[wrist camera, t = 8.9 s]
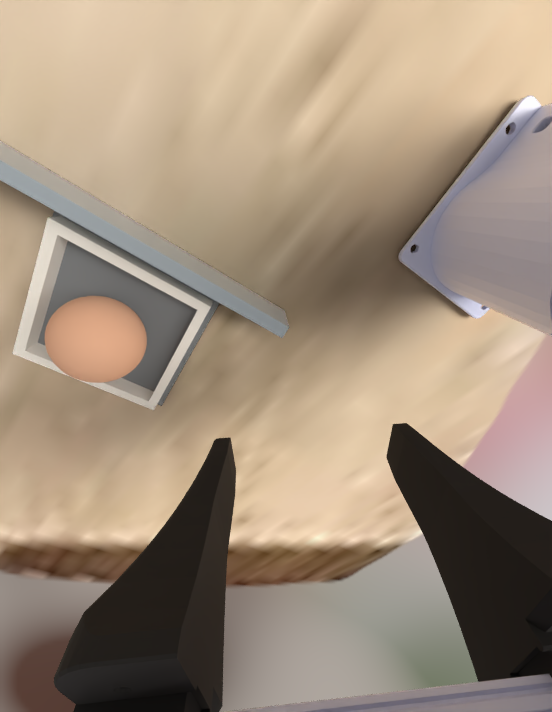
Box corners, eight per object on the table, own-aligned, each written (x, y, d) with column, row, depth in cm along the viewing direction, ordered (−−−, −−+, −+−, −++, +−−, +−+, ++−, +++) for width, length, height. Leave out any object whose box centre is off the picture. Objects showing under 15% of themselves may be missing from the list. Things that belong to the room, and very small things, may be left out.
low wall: (-22, 127, 14) (-86, 110, 11) (284, 310, 19) (289, 327, 17) (-24, 144, 14) (-87, 131, 12) (278, 319, 20) (282, 338, 17)
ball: (76, 275, 17) (15, 301, 13) (161, 298, 18) (132, 329, 14) (76, 346, 19) (24, 389, 15) (153, 363, 20) (125, 408, 16)
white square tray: (58, 204, 16) (41, 205, 14) (222, 297, 19) (219, 304, 17) (20, 345, 19) (3, 355, 18) (162, 403, 22) (156, 416, 21)
